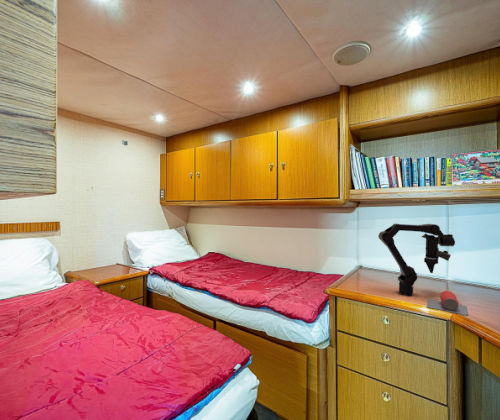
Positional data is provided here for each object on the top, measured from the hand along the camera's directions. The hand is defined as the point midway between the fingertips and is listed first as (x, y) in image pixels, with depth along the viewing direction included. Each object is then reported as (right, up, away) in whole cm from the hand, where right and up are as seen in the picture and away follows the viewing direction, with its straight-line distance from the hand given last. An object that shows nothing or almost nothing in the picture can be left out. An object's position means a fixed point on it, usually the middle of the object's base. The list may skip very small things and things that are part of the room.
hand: (431, 272), depth 145 cm
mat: (-4, -13, -17) cm, 22 cm away
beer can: (0, -10, -12) cm, 16 cm away
